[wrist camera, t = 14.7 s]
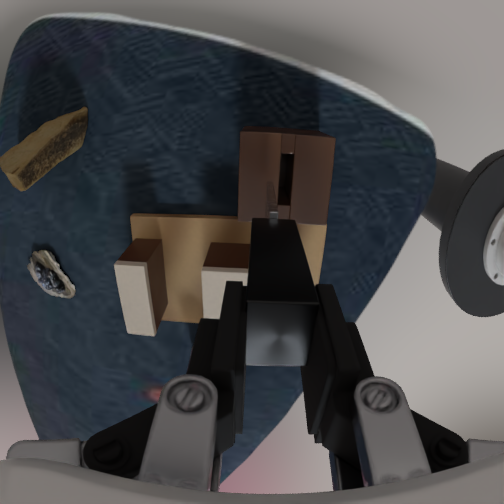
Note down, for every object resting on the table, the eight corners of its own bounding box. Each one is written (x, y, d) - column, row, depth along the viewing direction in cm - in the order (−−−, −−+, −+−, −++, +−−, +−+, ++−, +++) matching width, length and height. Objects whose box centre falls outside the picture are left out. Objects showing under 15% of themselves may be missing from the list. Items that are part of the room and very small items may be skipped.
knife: (284, 181, 21) (321, 293, 8) (282, 223, 22) (306, 373, 10) (254, 180, 21) (245, 291, 8) (253, 222, 22) (243, 372, 10)
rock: (5, 194, 29) (61, 216, 29) (-39, 165, 21) (14, 184, 20) (45, 117, 31) (104, 127, 31) (13, 77, 23) (75, 79, 23)
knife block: (319, 130, 28) (336, 137, 22) (313, 200, 31) (326, 226, 25) (244, 126, 28) (240, 131, 22) (242, 196, 31) (237, 221, 25)
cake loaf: (300, 245, 32) (307, 275, 27) (292, 310, 36) (296, 346, 31) (210, 241, 33) (200, 270, 27) (212, 307, 36) (204, 341, 31)
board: (325, 220, 32) (327, 224, 31) (309, 323, 38) (310, 328, 37) (133, 213, 32) (129, 216, 31) (146, 313, 38) (144, 318, 37)
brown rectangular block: (162, 238, 32) (144, 266, 27) (168, 303, 36) (154, 336, 31) (135, 238, 33) (113, 264, 27) (144, 301, 36) (127, 333, 31)
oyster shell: (40, 238, 34) (32, 244, 32) (85, 279, 36) (79, 287, 34) (25, 270, 36) (18, 277, 34) (66, 308, 38) (60, 316, 37)
